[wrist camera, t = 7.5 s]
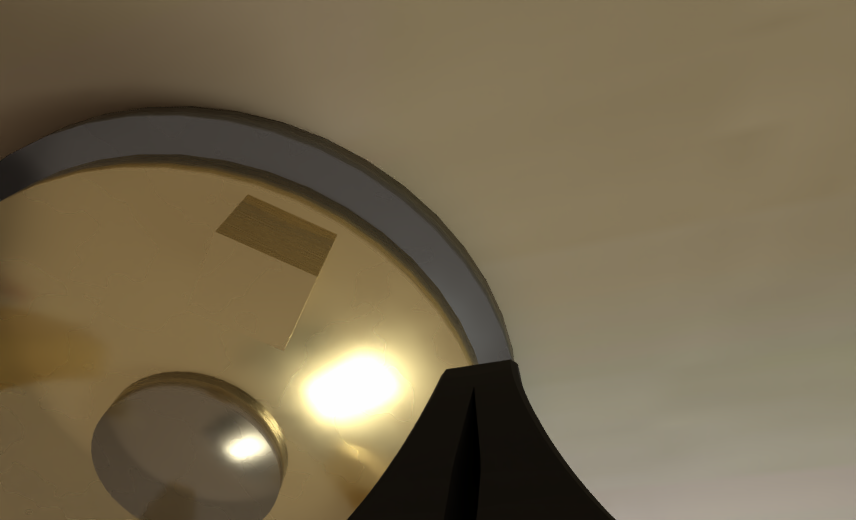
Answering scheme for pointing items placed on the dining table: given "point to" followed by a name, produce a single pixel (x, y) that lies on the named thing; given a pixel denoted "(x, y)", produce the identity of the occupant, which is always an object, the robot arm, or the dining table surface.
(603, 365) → the dining table surface
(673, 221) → the dining table surface
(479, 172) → the dining table surface
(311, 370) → the round tray
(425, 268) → the grey plate
